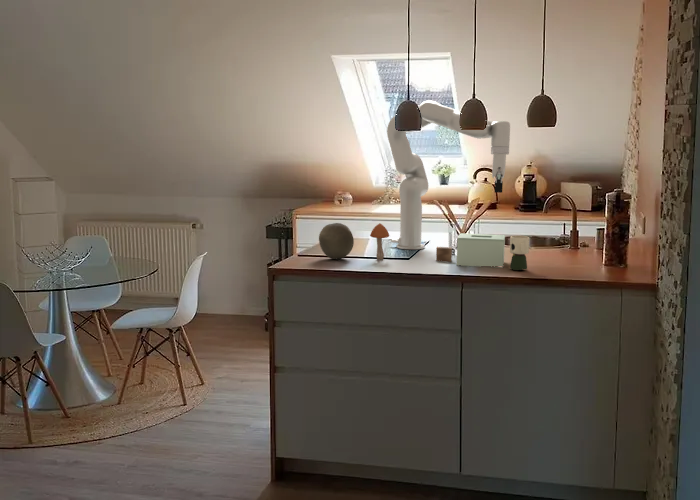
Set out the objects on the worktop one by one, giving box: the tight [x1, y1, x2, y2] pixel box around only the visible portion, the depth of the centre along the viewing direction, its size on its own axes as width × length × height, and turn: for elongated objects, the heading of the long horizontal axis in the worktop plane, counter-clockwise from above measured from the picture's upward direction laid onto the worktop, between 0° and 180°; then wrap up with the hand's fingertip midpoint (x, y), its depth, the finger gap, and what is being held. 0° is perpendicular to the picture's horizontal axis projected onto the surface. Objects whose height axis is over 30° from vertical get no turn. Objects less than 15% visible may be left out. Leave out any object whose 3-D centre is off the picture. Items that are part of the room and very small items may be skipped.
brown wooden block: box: [435, 246, 453, 263], centre depth 328 cm, size 6×3×6 cm, turn 78°
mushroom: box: [369, 223, 390, 261], centre depth 328 cm, size 8×8×15 cm
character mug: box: [509, 235, 530, 271], centre depth 307 cm, size 11×7×13 cm, turn 178°
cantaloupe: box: [318, 222, 355, 260], centre depth 327 cm, size 14×14×15 cm
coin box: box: [456, 232, 506, 268], centre depth 321 cm, size 18×13×11 cm
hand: (498, 191), depth 341 cm, fingers open, 9 cm apart
